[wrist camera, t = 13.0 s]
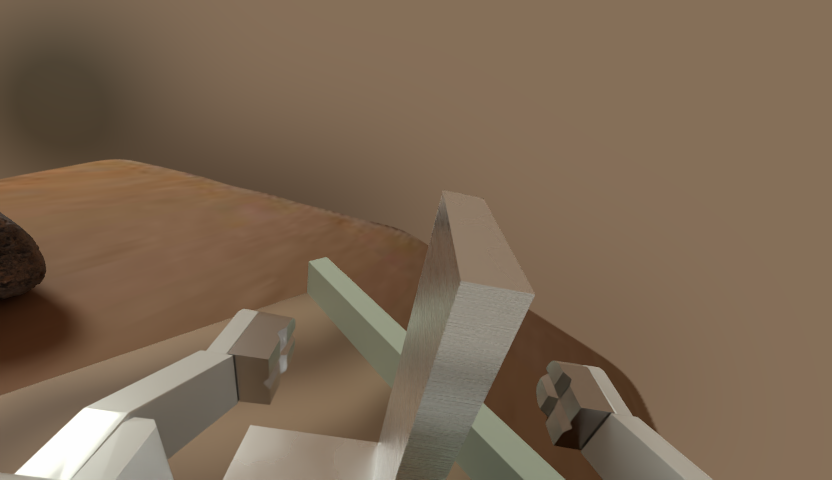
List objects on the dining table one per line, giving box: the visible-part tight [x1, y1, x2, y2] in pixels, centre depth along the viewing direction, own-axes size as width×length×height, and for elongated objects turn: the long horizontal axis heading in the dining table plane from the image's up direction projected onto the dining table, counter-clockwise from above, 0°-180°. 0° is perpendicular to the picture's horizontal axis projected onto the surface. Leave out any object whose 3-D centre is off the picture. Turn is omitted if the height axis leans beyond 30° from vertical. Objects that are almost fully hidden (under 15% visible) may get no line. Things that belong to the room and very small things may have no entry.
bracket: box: [223, 190, 535, 480], centre depth 10 cm, size 4×7×14 cm, turn 89°
